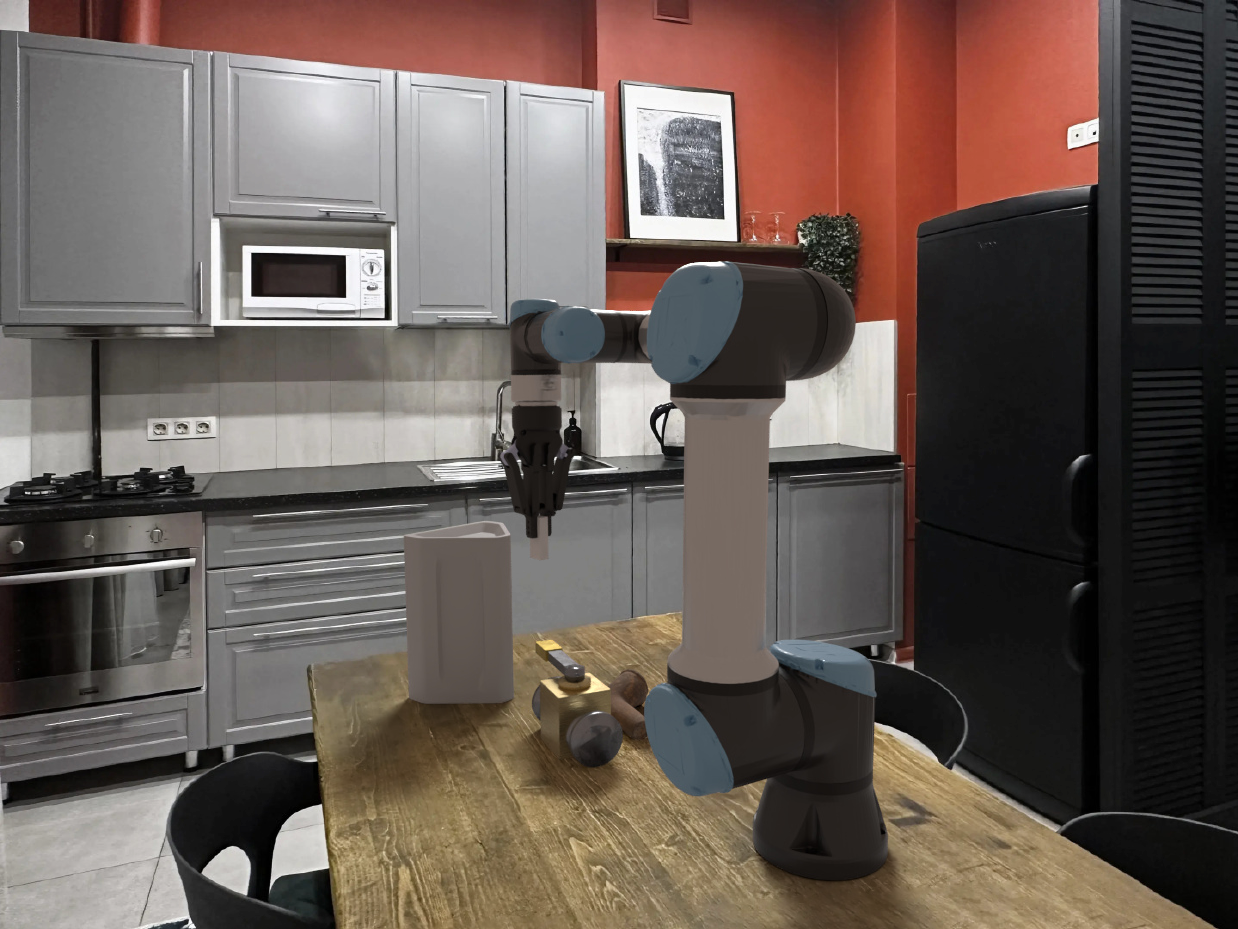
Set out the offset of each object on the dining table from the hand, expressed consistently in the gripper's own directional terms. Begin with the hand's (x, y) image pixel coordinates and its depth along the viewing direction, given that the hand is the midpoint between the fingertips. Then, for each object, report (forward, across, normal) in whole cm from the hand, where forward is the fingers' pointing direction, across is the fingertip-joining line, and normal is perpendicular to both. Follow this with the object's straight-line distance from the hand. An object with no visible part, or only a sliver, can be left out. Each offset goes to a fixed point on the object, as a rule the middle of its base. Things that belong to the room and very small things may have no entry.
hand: (539, 558), depth 133 cm
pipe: (+27, +12, -8) cm, 30 cm away
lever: (+16, +1, -3) cm, 17 cm away
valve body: (+26, 0, -9) cm, 28 cm away
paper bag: (+27, 0, +20) cm, 33 cm away
